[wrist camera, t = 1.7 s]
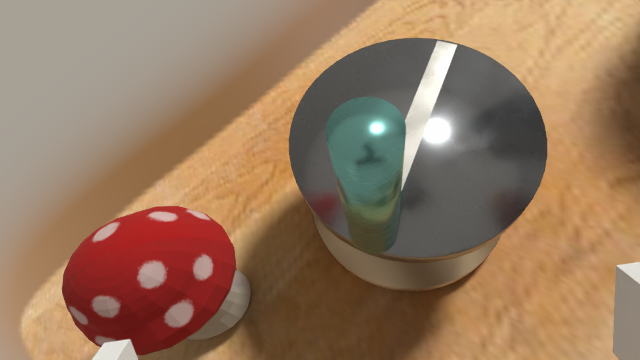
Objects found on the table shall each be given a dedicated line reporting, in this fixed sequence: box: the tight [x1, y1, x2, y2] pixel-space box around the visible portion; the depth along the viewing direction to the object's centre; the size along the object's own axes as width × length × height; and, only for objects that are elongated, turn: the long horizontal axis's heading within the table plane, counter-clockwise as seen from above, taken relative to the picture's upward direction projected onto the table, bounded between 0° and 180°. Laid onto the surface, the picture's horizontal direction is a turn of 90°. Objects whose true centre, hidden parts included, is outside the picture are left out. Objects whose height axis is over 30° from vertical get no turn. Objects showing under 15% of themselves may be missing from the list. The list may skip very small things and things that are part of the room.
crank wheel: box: [289, 38, 547, 263], centre depth 25 cm, size 16×16×18 cm
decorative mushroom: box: [62, 206, 251, 355], centre depth 28 cm, size 10×9×15 cm
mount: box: [312, 213, 501, 292], centre depth 35 cm, size 16×16×3 cm
